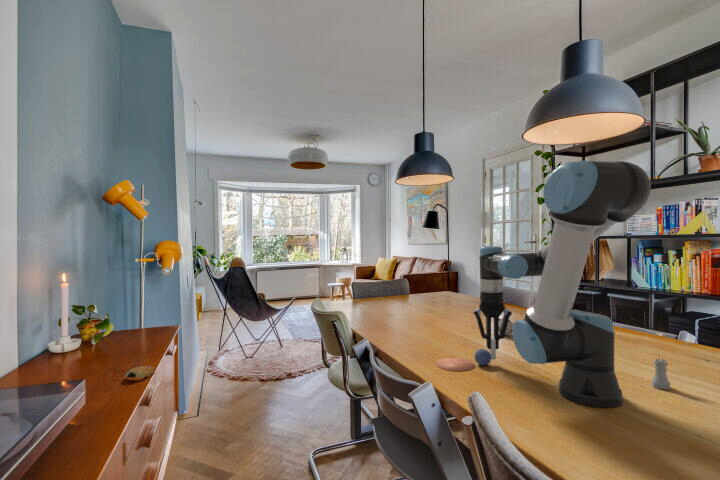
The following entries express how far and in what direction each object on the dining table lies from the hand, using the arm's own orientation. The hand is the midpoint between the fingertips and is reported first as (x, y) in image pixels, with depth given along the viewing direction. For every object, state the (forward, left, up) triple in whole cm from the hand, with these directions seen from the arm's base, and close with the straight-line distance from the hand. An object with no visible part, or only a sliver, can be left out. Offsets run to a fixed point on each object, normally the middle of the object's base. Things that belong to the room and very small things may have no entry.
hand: (492, 358), depth 129 cm
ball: (+1, +3, 0) cm, 4 cm away
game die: (+31, -26, -3) cm, 41 cm away
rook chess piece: (-30, -35, -3) cm, 46 cm away
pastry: (+24, +119, -3) cm, 121 cm away
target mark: (+4, +12, -2) cm, 13 cm away
